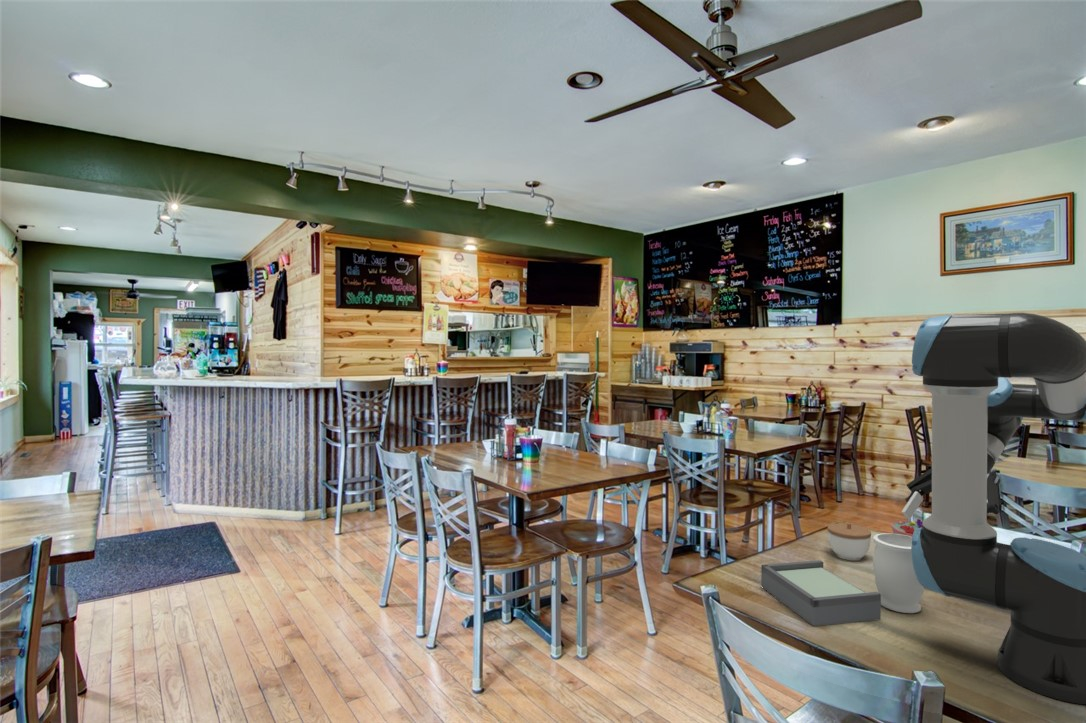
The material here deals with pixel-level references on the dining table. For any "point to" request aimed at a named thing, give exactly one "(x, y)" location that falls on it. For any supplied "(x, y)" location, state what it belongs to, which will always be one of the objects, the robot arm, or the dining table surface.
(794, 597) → the tray
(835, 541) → the lidded jar
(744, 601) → the dining table surface
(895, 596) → the jar
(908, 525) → the cell model
